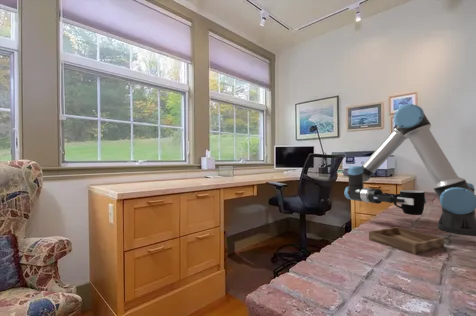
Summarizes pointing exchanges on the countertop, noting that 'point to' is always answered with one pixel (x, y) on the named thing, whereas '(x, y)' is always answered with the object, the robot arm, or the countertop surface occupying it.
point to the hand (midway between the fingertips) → (419, 201)
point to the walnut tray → (406, 240)
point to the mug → (418, 202)
